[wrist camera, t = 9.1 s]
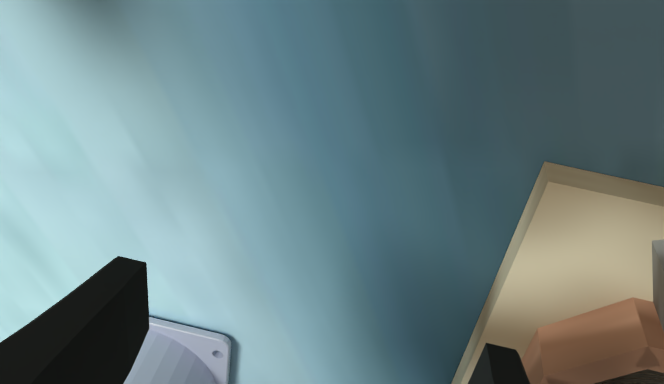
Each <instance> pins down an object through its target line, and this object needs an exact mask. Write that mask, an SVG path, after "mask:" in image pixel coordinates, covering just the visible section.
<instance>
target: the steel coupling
mask: <svg viewBox="0 0 664 384" xmlns="http://www.w3.org/2000/svg"><path fill="white" fill-rule="evenodd" d="M594 384H664V373H662V372H658V371H653V370H649V369H646V370H642V371H638V372H635V373H631V374H627V375H624V376H620V377H616V378H613V379H609V380H605V381H601V382H598V383H594Z"/></svg>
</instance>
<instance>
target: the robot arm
mask: <svg viewBox="0 0 664 384" xmlns="http://www.w3.org/2000/svg"><path fill="white" fill-rule="evenodd" d="M230 355H231V341H230V340H229V338H228V337H226V336H225V335H222V334H219V333H214V332H210V331H206V330H202V329H198V328H194V327H190V326H185V325H181V324H177V323H173V322H169V321H165V320H160V319H156V318H152V317H149V308H148V288H147V268H146V262H141V261H137V260H133V259H129V258H124V257H120V256H118V257H116V258H115V259H113V260H112V261H111V262H109V263H108V264H107V265H106V266H104V267H103V268H102V269H100V270H99V271H98V272H97V273H95V274H94V275H93V276H91V277H90V278H89V279H88V280H86V281H85V282H84V283H82V284H81V285H80V286H79V287H77V288H76V289H75V290H73V291H72V292H71V293H69V294H68V295H67V296H66V297H64V298H63V299H62V300H60V301H59V302H57V303H56V304H55V305H53V306H52V307H51V308H49V309H48V310H46V311H45V312H44V313H42V314H41V315H40V316H38V317H37V318H36V319H34V320H33V321H31V322H30V323H29V324H27V325H26V326H24V327H23V328H21V329H20V330H18V331H17V332H15V333H14V334H12V335H11V336H9V337H8V338H6V339H5V340H3V341H2V342H0V384H228V383H229V369H230ZM468 384H530V382H529V379H528V377H527V374H526V371H525V369H524V366H523V363H522V361H521V358H520V355H519V354H518V352H517V351H516V350H515V349H511V348H507V347H503V346H498V345H494V344H490V343H486V344H485V346H484V348H483V350H482V353H481V355H480V357H479V359H478V362H477V364H476V366H475V368H474V371H473V373H472V375H471V377H470V380H469V382H468Z"/></svg>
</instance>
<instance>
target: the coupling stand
mask: <svg viewBox="0 0 664 384" xmlns="http://www.w3.org/2000/svg"><path fill="white" fill-rule="evenodd" d="M486 343H490V344H494V345H498V346H503V347H507V348H511V349H515V350H516V351H517V352H518V354H519V355H520V358H521V361H522V363H523V366H524V369H525V371H526V374H527V377H528V379H529V382H530V384H594V383H598V382H601V381H605V380H609V379H613V378H616V377H620V376H624V375H627V374H631V373H635V372H638V371H642V370H646V369H649V370H653V371H658V372H662V373H664V187H660V186H655V185H651V184H646V183H642V182H637V181H632V180H628V179H623V178H618V177H614V176H609V175H605V174H600V173H595V172H591V171H586V170H581V169H577V168H572V167H567V166H563V165H558V164H554V163H549V162H544V164H543V166H542V168H541V171H540V173H539V176H538V178H537V180H536V183H535V185H534V188H533V190H532V192H531V195H530V197H529V199H528V202H527V204H526V207H525V209H524V211H523V214H522V216H521V219H520V221H519V223H518V226H517V228H516V230H515V233H514V235H513V238H512V240H511V242H510V245H509V247H508V250H507V252H506V254H505V257H504V259H503V262H502V264H501V266H500V269H499V271H498V273H497V276H496V278H495V281H494V283H493V285H492V288H491V290H490V293H489V295H488V297H487V300H486V302H485V304H484V307H483V309H482V312H481V314H480V316H479V319H478V321H477V324H476V326H475V328H474V331H473V333H472V335H471V338H470V340H469V343H468V345H467V347H466V350H465V352H464V355H463V357H462V359H461V362H460V364H459V366H458V369H457V371H456V374H455V376H454V378H453V381H452V383H451V384H468V382H469V380H470V377H471V375H472V373H473V371H474V368H475V366H476V364H477V362H478V359H479V357H480V355H481V353H482V350H483V348H484V346H485V344H486Z"/></svg>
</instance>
